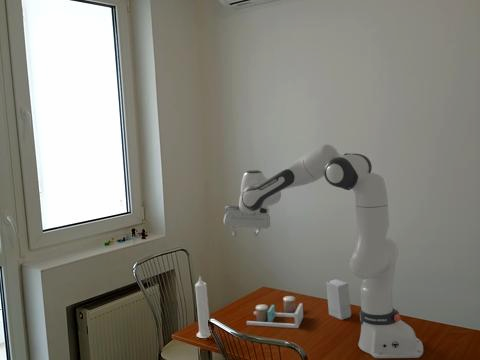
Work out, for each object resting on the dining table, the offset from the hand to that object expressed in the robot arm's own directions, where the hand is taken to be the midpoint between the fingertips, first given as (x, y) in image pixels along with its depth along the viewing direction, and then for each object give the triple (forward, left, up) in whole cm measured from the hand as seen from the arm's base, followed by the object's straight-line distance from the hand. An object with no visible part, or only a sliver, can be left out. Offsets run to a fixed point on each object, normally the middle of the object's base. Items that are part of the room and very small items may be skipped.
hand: (244, 235), depth 210 cm
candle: (+12, +25, -36) cm, 45 cm away
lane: (-13, +7, -35) cm, 38 cm away
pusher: (-14, +7, -35) cm, 38 cm away
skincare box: (-39, -2, -36) cm, 53 cm away
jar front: (-7, +7, -35) cm, 37 cm away
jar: (-17, -4, -35) cm, 40 cm away
